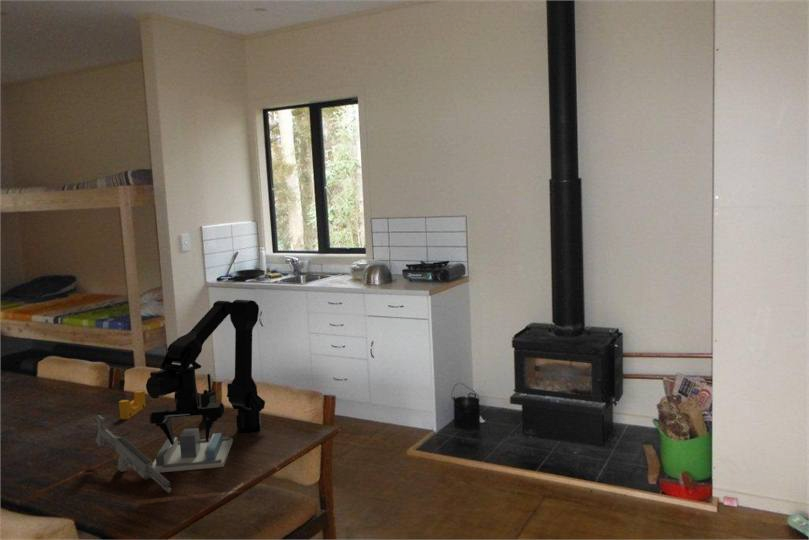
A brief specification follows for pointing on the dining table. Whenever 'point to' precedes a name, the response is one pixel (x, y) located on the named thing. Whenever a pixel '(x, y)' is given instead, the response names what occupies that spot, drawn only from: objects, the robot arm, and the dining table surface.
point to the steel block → (190, 443)
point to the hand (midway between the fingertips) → (190, 442)
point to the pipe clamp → (132, 405)
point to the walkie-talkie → (207, 397)
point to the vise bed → (172, 459)
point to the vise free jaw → (213, 446)
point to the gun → (130, 455)
